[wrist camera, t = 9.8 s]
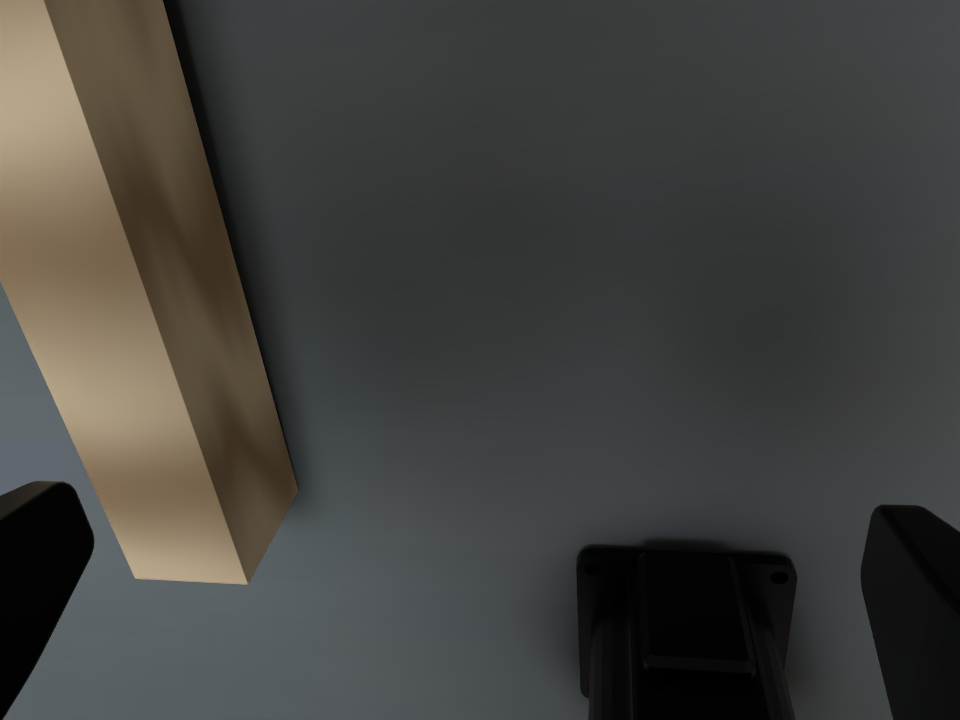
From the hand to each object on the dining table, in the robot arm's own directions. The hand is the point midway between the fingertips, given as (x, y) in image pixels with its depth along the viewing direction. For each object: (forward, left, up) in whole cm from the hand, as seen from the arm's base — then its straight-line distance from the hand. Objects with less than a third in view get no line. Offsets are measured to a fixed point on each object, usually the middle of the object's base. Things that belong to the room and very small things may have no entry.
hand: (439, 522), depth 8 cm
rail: (+1, +10, -12) cm, 15 cm away
